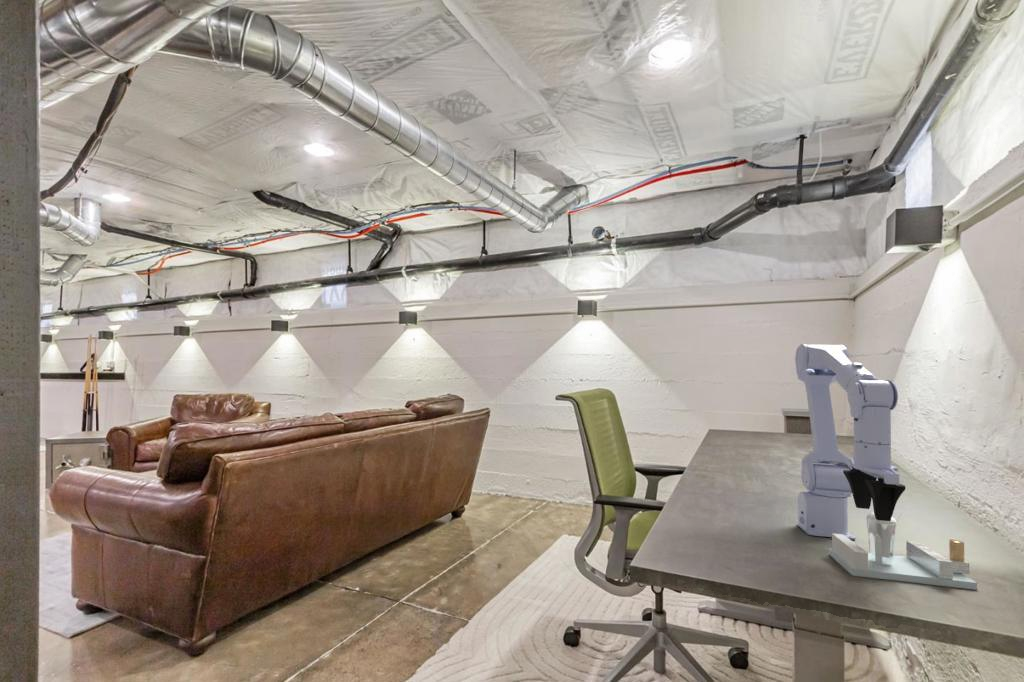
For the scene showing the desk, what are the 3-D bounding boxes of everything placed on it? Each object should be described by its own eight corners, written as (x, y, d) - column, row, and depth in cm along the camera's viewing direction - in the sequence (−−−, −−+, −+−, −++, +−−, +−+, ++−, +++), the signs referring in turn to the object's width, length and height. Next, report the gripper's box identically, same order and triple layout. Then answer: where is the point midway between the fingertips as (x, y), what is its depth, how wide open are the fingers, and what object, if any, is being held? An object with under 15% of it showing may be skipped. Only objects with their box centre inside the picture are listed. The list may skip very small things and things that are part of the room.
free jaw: (939, 578, 84) (939, 547, 84) (906, 556, 93) (906, 529, 94) (983, 583, 82) (983, 552, 82) (945, 560, 92) (945, 532, 92)
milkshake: (898, 571, 86) (899, 515, 87) (863, 560, 90) (863, 507, 91) (904, 565, 89) (904, 511, 90) (869, 555, 93) (869, 503, 94)
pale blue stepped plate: (852, 575, 87) (852, 551, 87) (829, 554, 96) (829, 533, 96) (976, 589, 82) (976, 564, 82) (939, 566, 92) (939, 543, 92)
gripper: (919, 450, 83) (920, 528, 83) (876, 438, 97) (876, 505, 97) (873, 447, 85) (873, 524, 84) (837, 435, 99) (837, 501, 98)
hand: (872, 513), depth 91 cm, fingers open, 7 cm apart
